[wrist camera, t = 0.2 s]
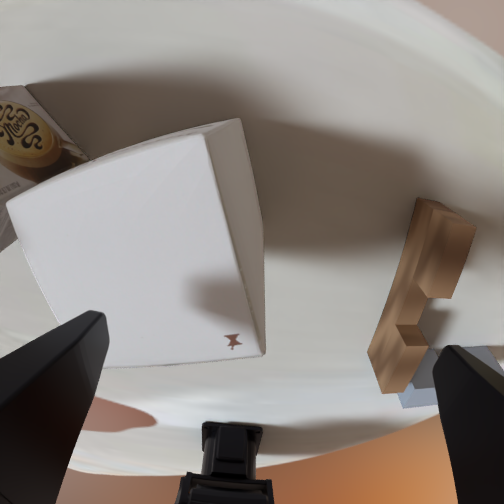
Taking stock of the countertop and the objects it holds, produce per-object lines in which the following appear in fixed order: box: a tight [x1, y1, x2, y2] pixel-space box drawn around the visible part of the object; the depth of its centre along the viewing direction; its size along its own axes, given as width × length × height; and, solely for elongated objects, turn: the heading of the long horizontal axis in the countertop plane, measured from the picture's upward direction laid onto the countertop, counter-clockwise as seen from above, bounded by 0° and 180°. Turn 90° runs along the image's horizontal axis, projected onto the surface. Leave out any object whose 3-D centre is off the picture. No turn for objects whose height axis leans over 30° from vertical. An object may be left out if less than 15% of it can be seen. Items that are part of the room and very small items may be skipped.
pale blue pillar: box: [397, 346, 504, 408], centre depth 25 cm, size 2×12×5 cm, turn 84°
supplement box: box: [6, 118, 266, 369], centre depth 15 cm, size 7×7×13 cm
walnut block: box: [367, 198, 476, 394], centre depth 21 cm, size 14×2×5 cm, turn 174°
